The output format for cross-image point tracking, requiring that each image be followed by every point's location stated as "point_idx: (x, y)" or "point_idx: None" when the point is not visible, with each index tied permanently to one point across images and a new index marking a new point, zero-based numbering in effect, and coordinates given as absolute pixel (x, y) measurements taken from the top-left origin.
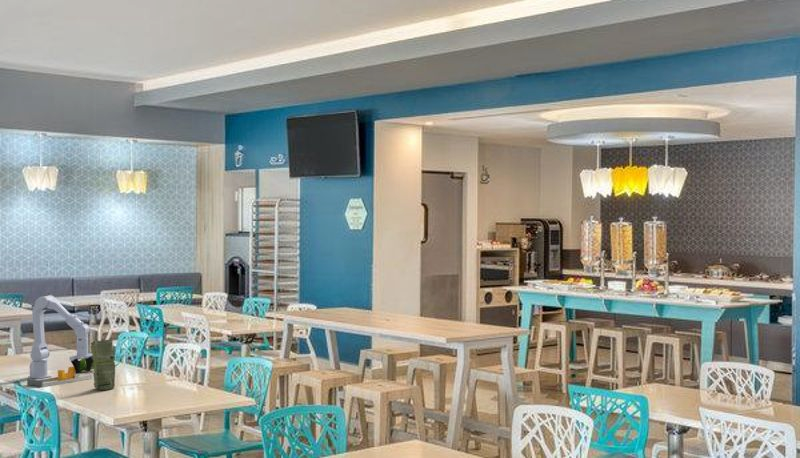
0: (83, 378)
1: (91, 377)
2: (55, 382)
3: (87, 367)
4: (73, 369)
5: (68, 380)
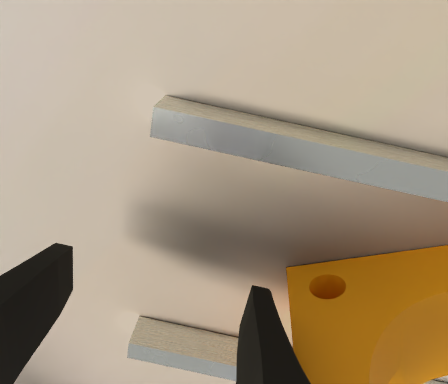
0: (310, 133)
1: (168, 99)
2: None
3: (37, 327)
4: (339, 377)
5: None
